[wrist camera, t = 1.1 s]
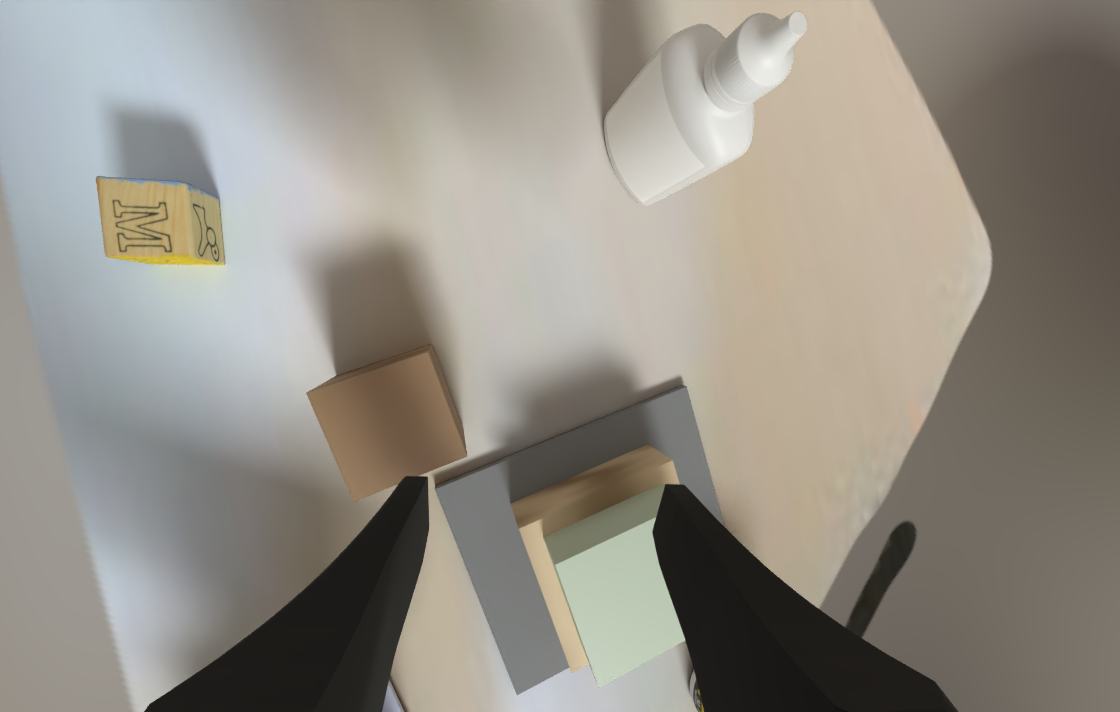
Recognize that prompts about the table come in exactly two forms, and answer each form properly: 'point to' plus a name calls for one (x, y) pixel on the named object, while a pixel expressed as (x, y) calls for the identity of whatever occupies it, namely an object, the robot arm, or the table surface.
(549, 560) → the tower base
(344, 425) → the walnut cube
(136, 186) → the alphabet block
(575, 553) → the tower top
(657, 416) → the mat
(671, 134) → the eye dropper bottle
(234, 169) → the table surface
